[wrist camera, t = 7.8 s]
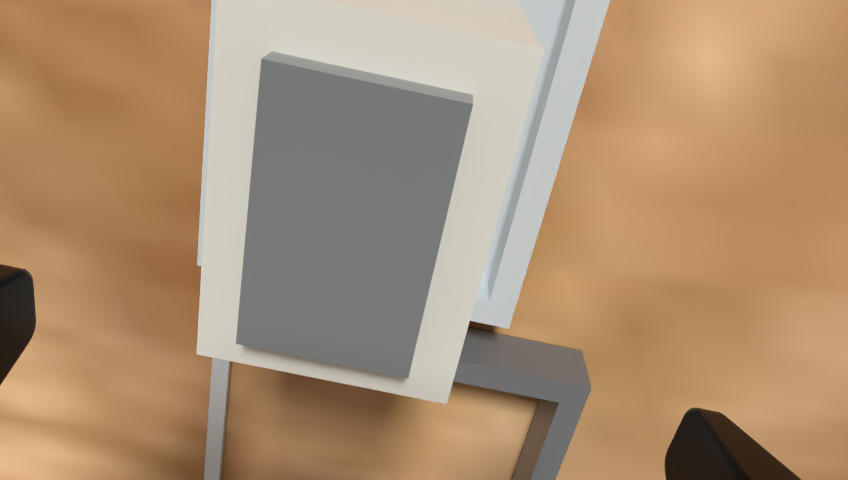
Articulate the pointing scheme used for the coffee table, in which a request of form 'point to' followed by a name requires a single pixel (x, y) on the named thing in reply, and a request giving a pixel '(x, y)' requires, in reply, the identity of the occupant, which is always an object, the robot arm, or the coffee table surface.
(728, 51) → the coffee table surface
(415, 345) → the cream box grey panel
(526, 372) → the grey flat square frame
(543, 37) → the tray
